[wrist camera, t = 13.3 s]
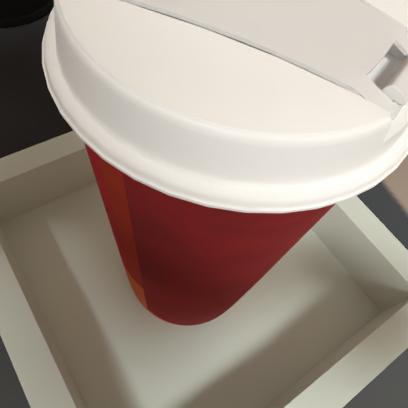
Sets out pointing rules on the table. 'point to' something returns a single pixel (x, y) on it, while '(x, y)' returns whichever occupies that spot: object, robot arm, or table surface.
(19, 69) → the table surface
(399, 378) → the table surface
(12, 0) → the aerosol can
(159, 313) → the paper cup
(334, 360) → the tray
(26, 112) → the table surface
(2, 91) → the table surface
